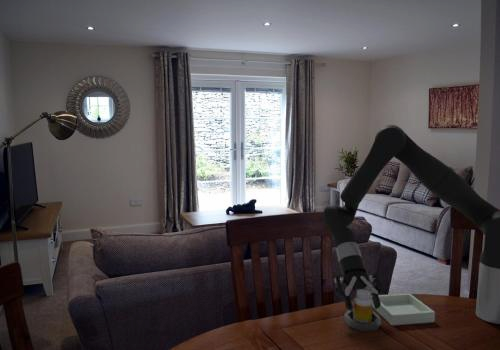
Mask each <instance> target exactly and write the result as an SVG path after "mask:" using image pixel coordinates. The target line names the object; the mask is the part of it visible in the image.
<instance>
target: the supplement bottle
mask: <svg viewBox="0 0 500 350" xmlns="http://www.w3.org/2000/svg"><path fill="white" fill-rule="evenodd" d="M355 294H356V297H354V299H353V309H354V312H353V317H352V320H355V321H358V322H361V323H370V322H373V319H372V311H373V307H372V300H371V295H370V292H369V291H367V290H364V289H361V290H356V293H355Z"/></svg>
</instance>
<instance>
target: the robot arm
mask: <svg viewBox="0 0 500 350" xmlns="http://www.w3.org/2000/svg"><path fill="white" fill-rule="evenodd" d="M393 158H396V160H398V161H399V162H401V163H402V164H403V165H404V166H406V167H407V168H408V170H409V171H410V172H411V173H412V174H413V175H414V177H415V178H416V179H417V180H418V181H419V182H420V183H421V184H422V185H423V186H424V188H426V189H427V190H428V191H430V193H432V194H433V195H435V196H436V197H437V198H438V199H440V200H441V201H442V202H444V203H445V204H447V205H448V206H451V207H452V208H453V209H455V210H457V211H459V212H460V213H462V214H463V215H464V216H465V217H467V219H468V220H470V221H471V222H472V223H473V224H474V225H475V226H476V227H477V228H478V229H479V231H480V232H481V234H483V235H484V244H483V245H484V246H483V249H482V252H481V253H480V257H479V266H478V281H477V291H476V292H477V295H476V307H475V315H476V316H477V317H478V318H479V319H481V320H483V321H484V322H488V323H491V324H497V325H498V324H499V325H500V209H499V208H497V207H496V206H494V205H493V204H491V203H489V202H488V201H487V200H485V199H484V198H482V197H481V196H480V195H479V194H478V193H477V191H475V190H474V189H473V187H472V186H471V185H470V184H469V183H468V182H467V181H466V180H465V179H464V178H463V177H461V175H460V174H459V173H457V172H456V171H455V170H453V169H452V168H451V167H449V166H448V165H446V164H445V163H444V162H443V161H441V160H440V159H438V158H437V157H435V156H433V154H431V153H429V152H427V151H425V150H424V149H423V148H422V147H420V146H419V145H418V144H417V143H416V142H415V141H414V140H413V139H412V138H411V137H410V136H409V135H408V134H407V133H406V132H405V131H404V129H402V128H401V127H399V126H398V125H396V124H387V125H384V126H381V128H380V129H378V131H377V132H376V134H375V137H374V140H373V143H372V145H371V148H370V150H369V152H368V154H367V156H366V157H365V159H364V160H363V162H362V163H361V165H360V167H358V169H357V170H356V171H355V173H354V174H353V175H352V176H351V178H350V180H349V181H348V182H347V183H346V185H345V186H344V188H343V189H342V191H341V192H340V196H339V197H340V200H341V201H342V202H343V203H344V205H343V206H340V205H336V204H328V205H326V207H325V208H324V209H323V212H322V213H323V215H322V216H323V222H324V224H325V227H326V228H327V230H328V231H329V234H330V235H331V237H332V239H333V242H334V246H335V250H336V256H337V261H338V263H339V269H340V272H341V275H342V276H339V275H335V277H334V279H333V284H334V289H335V292H336V293H335V294H336V297H337V298H342V299H343V301H344V305H345V307H346V310H347V311H348V310H349V311H351V310H352V309H354V305H353V303H352V299H351V295H350V294H351V291H353V292H357V290H361V289H363V290H367V291H369V292H370V297H371V296H372V300H373V303H374V307H375V309H378V308H379V307H380V305H381V303H380V300H379V296H378V295H381V293H383V291H384V288H383V286H382V284H381V280H380V278H379V276H378V274H377V273H373V275H372V274H371V275H370V274H368V273H367V269H366V265H365V263H364V259H363V256H362V253H361V250H360V247H359V245H358V242H357V240H356V235H355V233H354V231H353V230H352V229H351V228H349V227H350V225H352V223H353V222H354V220H355V217H356V214H357V212H358V209H359V205H360V204H361V202H362V201H363V199H364V198H365V197H366V195H367V194H368V192H369V190H370V189H371V188H372V186H373V184H374V183H375V181H376V179H377V178H378V176H379V175H380V174H381V172H382V171H383V170H384V168H385V167H386V166H387V165H388V164H389V163H390V161H392V159H393ZM342 283H344V284H345V286H346V288H345V290H344V291H343V287H342ZM375 309H374V310H375Z"/></svg>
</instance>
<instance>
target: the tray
mask: <svg viewBox="0 0 500 350" xmlns="http://www.w3.org/2000/svg"><path fill="white" fill-rule="evenodd" d="M378 296H379V300H380V303H381V305H380V307H379V308H378V309H375V307H374V303H373V300H372V296H371V295H370V299H371V300H372V309H374V310H375V311H376V313H378V314H379V316H381V318H382V319H383V318H384V320H385V321H386V322H387V323H389V325H391V326H400V325H401V326H402V325H413V324H415V325H416V324H427V323H435V318H436V311H434V310H433V309H432V308H431V307H429V306H427V305H426V304H425V303H423V302H422V301H421V300H420V299H419V298H416V297H415V296H414V295H413V294H411V293H409V292H408V293H391V294H380V295H378Z"/></svg>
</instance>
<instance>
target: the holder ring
mask: <svg viewBox="0 0 500 350" xmlns="http://www.w3.org/2000/svg"><path fill="white" fill-rule="evenodd" d="M353 312H354V308H353V309H352V310H351V311H349V310H348V309H347V310H346V312H345V313H344V314H343V321H344V322H345V324H346V325H347V326H348V327H349V328H351V329H355V330H357V331H361V332H373V331H377V330H378V329H379V328H380V327H381V325H382V317H380V315H378V314H377V312H375V311H373V310H372V322H370V323H361V322H358V321H355V320H353Z"/></svg>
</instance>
